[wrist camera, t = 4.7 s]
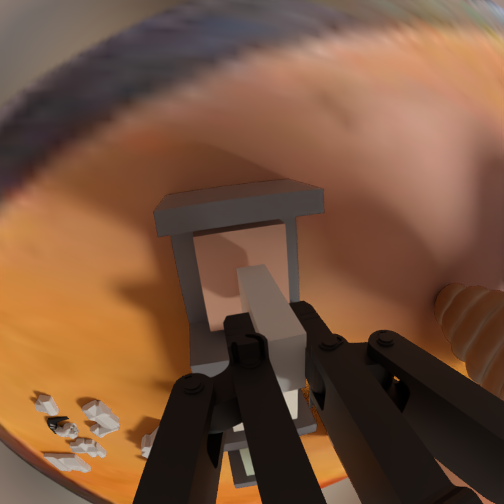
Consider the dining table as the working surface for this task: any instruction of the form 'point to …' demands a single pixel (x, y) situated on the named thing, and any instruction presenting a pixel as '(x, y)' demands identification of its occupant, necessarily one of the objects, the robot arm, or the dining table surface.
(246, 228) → the brown flat block
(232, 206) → the keypad
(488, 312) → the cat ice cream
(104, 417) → the white puzzle pieces
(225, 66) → the dining table surface
